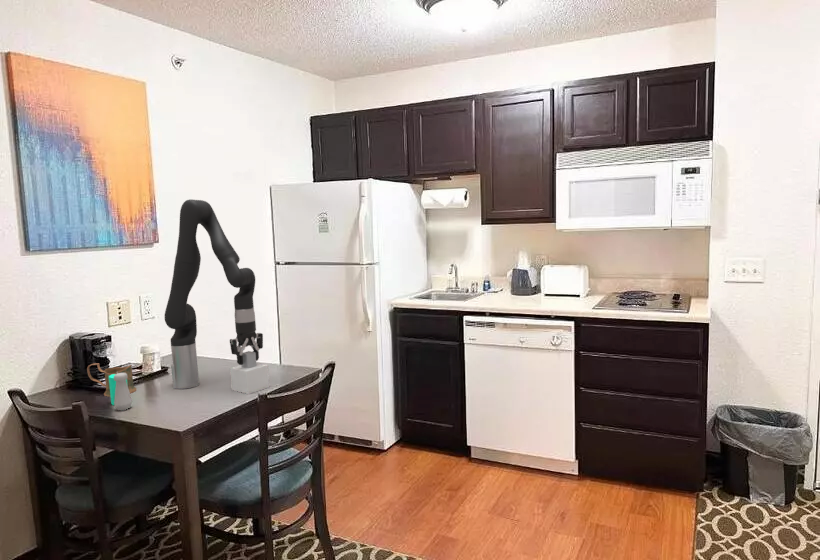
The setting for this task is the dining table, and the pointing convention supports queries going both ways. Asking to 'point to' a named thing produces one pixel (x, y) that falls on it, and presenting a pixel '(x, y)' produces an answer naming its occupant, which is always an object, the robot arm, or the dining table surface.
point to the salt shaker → (122, 392)
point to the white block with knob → (249, 375)
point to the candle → (112, 387)
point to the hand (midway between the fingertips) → (248, 362)
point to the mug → (114, 371)
